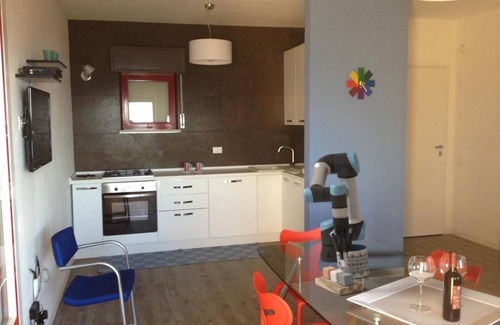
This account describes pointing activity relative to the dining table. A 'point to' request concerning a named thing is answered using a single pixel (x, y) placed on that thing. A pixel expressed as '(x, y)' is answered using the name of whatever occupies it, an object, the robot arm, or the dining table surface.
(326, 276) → the key
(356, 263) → the planter
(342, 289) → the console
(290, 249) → the dining table surface
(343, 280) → the key
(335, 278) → the key mid
